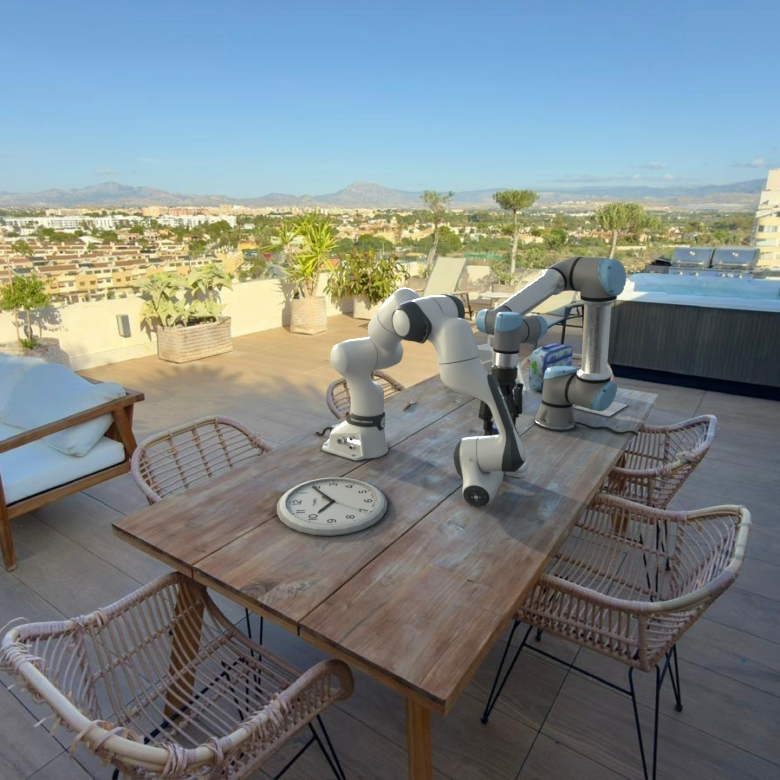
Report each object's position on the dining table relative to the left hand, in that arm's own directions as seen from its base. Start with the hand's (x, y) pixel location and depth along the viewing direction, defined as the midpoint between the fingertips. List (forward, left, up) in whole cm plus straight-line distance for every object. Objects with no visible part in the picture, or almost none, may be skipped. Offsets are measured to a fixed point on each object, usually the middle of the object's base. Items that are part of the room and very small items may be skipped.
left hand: (497, 453), depth 162 cm
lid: (0, -1, +9) cm, 9 cm away
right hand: (0, -1, +5) cm, 6 cm away
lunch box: (+6, +102, -6) cm, 102 cm away
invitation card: (+30, +82, -6) cm, 88 cm away
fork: (-46, +48, -6) cm, 67 cm away
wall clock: (-37, -38, -6) cm, 54 cm away
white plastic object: (-23, +80, -6) cm, 84 cm away
